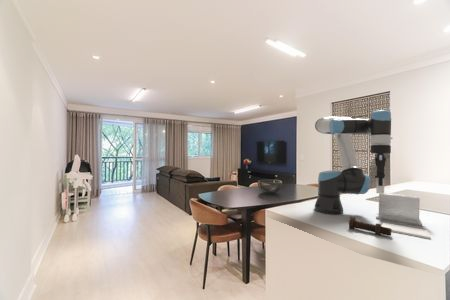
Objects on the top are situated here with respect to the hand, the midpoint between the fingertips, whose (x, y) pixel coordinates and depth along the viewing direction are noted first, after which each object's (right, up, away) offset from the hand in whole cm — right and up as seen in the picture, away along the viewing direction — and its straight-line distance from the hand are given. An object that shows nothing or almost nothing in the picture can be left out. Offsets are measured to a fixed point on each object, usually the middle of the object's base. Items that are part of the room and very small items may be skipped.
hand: (380, 191), depth 99 cm
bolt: (-8, -17, -5) cm, 20 cm away
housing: (+19, -17, +13) cm, 29 cm away
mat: (+9, -17, -2) cm, 20 cm away
